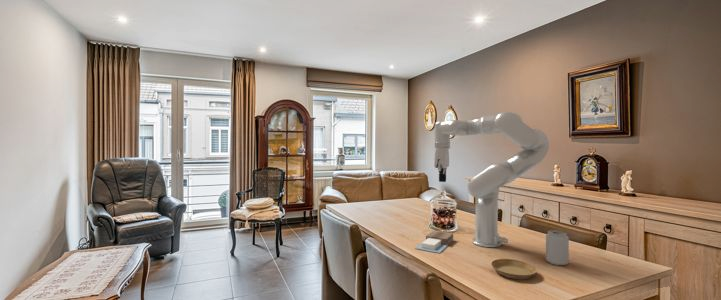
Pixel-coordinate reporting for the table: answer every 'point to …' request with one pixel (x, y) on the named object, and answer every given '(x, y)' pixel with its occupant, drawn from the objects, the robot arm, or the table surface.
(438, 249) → the mat
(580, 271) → the table surface
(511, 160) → the robot arm
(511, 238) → the table surface
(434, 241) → the tile
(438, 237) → the step
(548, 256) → the can
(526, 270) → the plant saucer
